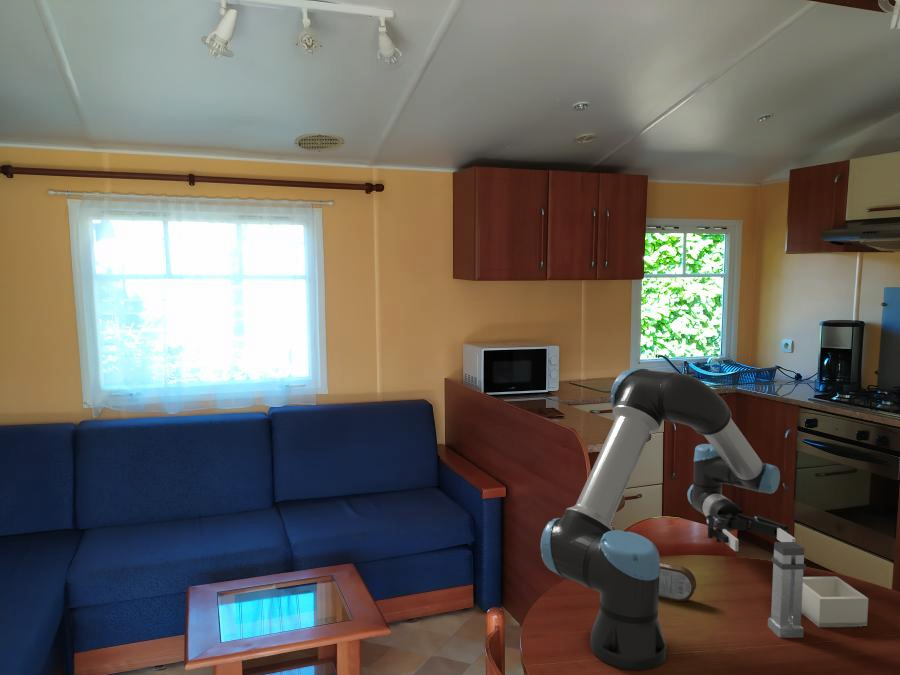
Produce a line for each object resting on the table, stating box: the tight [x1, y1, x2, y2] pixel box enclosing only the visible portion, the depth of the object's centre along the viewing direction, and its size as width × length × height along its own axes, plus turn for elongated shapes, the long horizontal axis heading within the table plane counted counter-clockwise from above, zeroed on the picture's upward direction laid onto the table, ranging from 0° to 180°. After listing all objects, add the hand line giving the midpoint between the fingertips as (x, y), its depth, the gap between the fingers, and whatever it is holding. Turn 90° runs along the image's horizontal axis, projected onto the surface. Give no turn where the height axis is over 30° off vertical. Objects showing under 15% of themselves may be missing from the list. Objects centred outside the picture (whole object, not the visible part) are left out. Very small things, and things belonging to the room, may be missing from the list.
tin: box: [659, 560, 697, 602], centre depth 157 cm, size 15×3×8 cm, turn 63°
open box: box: [801, 576, 869, 628], centre depth 148 cm, size 11×11×6 cm
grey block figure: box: [767, 541, 807, 639], centre depth 140 cm, size 5×5×20 cm
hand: (765, 545), depth 150 cm, fingers open, 13 cm apart
